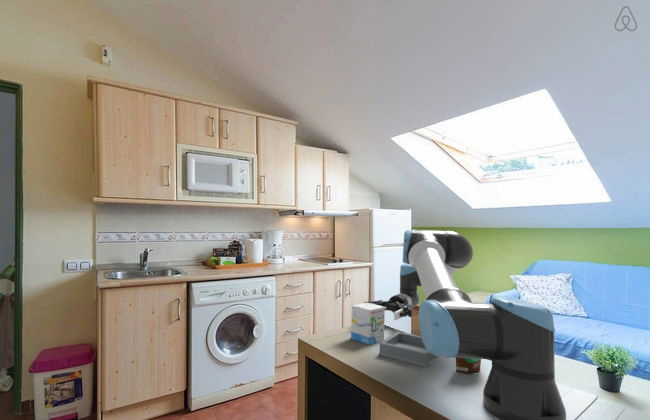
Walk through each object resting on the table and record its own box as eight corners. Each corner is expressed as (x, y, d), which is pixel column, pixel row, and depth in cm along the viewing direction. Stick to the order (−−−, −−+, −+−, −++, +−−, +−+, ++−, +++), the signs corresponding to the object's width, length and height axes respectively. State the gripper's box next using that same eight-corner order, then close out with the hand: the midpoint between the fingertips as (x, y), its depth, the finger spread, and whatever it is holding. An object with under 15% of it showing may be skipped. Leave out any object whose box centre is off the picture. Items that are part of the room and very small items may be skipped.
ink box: (369, 345, 108) (369, 309, 108) (350, 338, 114) (350, 305, 115) (384, 340, 113) (385, 306, 114) (366, 334, 120) (366, 301, 120)
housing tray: (426, 366, 92) (426, 354, 92) (379, 354, 100) (379, 342, 100) (440, 351, 103) (440, 340, 104) (397, 342, 112) (397, 331, 112)
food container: (479, 380, 84) (479, 340, 84) (454, 374, 87) (454, 335, 88) (489, 365, 94) (488, 330, 94) (466, 360, 97) (466, 325, 98)
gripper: (429, 317, 131) (410, 330, 114) (373, 307, 146) (348, 317, 128) (429, 298, 132) (410, 308, 115) (373, 290, 146) (349, 298, 129)
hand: (377, 313), depth 121 cm, fingers open, 13 cm apart
